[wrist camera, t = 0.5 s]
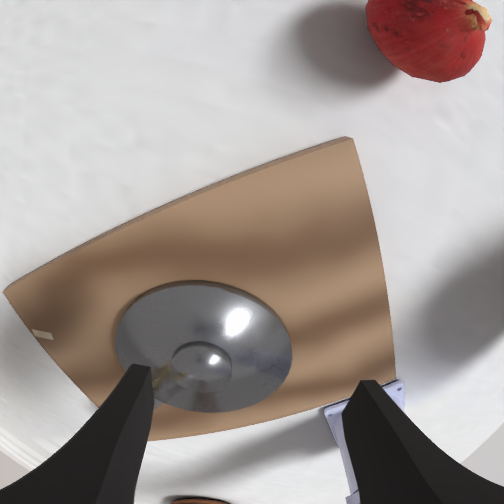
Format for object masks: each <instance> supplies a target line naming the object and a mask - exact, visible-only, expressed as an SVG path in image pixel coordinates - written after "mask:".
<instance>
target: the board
mask: <svg viewBox="0 0 504 504" xmlns="http://www.w3.org/2000/svg"><path fill="white" fill-rule="evenodd" d="M185 280H206V281H213V282H220V283H224V284H228V285H232V286H234V287H237V288H240V289H242V290H245V291H247V292H249V293H251V294H253V295H255V296H256V297H258V298H259V299H261V300H262V301H264V302H265V303H267V304H268V305H269V306H270V307H271V308H272V309H273V310H274V311H275V312H276V313H277V314H278V315H279V317H280V318H281V319H282V321H283V323H284V324H285V326H286V328H287V331H288V333H289V337H290V342H291V347H292V364H291V368H290V371H289V374H288V376H287V377H286V379H285V381H284V382H283V383H282V385H281V386H280V387H279V388H278V389H277V390H276V391H275V392H274V393H273V394H271V395H270V396H269V397H267V398H266V399H264V400H262V401H260V402H259V403H256V404H254V405H252V406H249V407H246V408H243V409H239V410H235V411H229V412H220V413H204V412H195V411H189V410H184V409H180V408H177V407H173V406H171V405H168V404H166V403H163V404H162V405H160V406H159V407H158V408H156V409H155V410H153V416H152V423H151V429H150V433H149V437H148V440H147V441H155V440H165V439H174V438H182V437H189V436H196V435H202V434H208V433H214V432H220V431H225V430H230V429H235V428H240V427H245V426H249V425H254V424H258V423H263V422H267V421H271V420H275V419H279V418H282V417H286V416H290V415H293V414H297V413H300V412H304V411H307V410H311V409H314V408H317V407H320V406H323V405H326V404H330V403H333V402H336V401H338V400H341V399H344V398H347V397H350V396H352V394H353V393H354V391H355V389H356V387H357V385H358V384H359V382H360V380H376V381H377V382H378V384H379V385H381V384H384V383H386V382H388V381H391V380H393V379H396V371H395V357H394V346H393V335H392V326H391V317H390V309H389V302H388V295H387V288H386V281H385V275H384V269H383V263H382V258H381V252H380V247H379V242H378V236H377V232H376V227H375V222H374V217H373V213H372V208H371V204H370V200H369V196H368V192H367V188H366V184H365V180H364V176H363V172H362V168H361V165H360V161H359V157H358V154H357V150H356V147H355V144H354V140H353V138H350V137H346V136H345V137H342V138H339V139H335V140H332V141H329V142H326V143H323V144H320V145H317V146H314V147H311V148H308V149H305V150H302V151H299V152H297V153H294V154H291V155H288V156H285V157H282V158H280V159H277V160H274V161H271V162H269V163H266V164H263V165H261V166H258V167H255V168H253V169H250V170H247V171H245V172H242V173H240V174H237V175H235V176H232V177H230V178H227V179H225V180H222V181H220V182H217V183H215V184H212V185H210V186H207V187H205V188H202V189H200V190H198V191H195V192H193V193H191V194H188V195H186V196H184V197H181V198H179V199H177V200H174V201H172V202H170V203H168V204H165V205H163V206H161V207H159V208H156V209H154V210H152V211H150V212H148V213H145V214H143V215H141V216H139V217H137V218H135V219H133V220H130V221H128V222H126V223H124V224H122V225H120V226H118V227H116V228H114V229H112V230H110V231H108V232H106V233H104V234H102V235H100V236H98V237H96V238H94V239H92V240H90V241H88V242H86V243H84V244H82V245H80V246H78V247H76V248H74V249H72V250H70V251H69V252H67V253H65V254H63V255H61V256H59V257H57V258H55V259H54V260H52V261H50V262H48V263H46V264H45V265H43V266H41V267H39V268H37V269H36V270H34V271H32V272H30V273H29V274H27V275H25V276H23V277H22V278H20V279H18V280H17V281H15V282H13V283H11V284H10V285H9V286H8V287H7V288H6V289H5V290H4V291H3V293H4V295H5V296H6V298H7V299H8V301H9V302H10V304H11V305H12V307H13V308H14V310H15V311H16V313H17V314H18V315H19V317H20V318H21V320H22V321H23V322H24V324H25V325H26V326H27V328H28V329H29V330H30V332H31V333H32V334H33V336H34V337H35V338H36V339H37V341H38V342H39V343H40V344H41V346H42V347H43V348H44V349H45V351H46V352H47V353H48V354H49V355H50V357H51V358H52V359H53V360H54V361H55V362H56V364H57V365H58V366H59V367H60V368H61V369H62V370H63V372H64V373H65V374H66V375H67V376H68V377H69V378H70V379H71V380H72V381H73V382H74V383H75V385H76V386H77V387H78V388H79V389H80V390H81V391H82V392H83V393H84V394H85V395H86V396H87V397H88V398H89V399H90V400H91V401H92V402H93V403H94V404H95V405H96V406H97V407H98V408H99V407H100V406H101V405H102V403H103V402H104V401H105V400H106V398H107V397H108V396H109V395H110V393H111V392H112V391H113V389H114V388H115V387H116V385H117V384H118V383H119V381H120V380H121V378H122V377H123V375H124V374H125V371H124V369H123V368H122V366H121V364H120V362H119V359H118V356H117V353H116V346H115V339H116V332H117V328H118V326H119V324H120V321H121V319H122V317H123V315H124V313H125V311H126V310H127V308H128V307H129V306H130V304H131V303H132V302H133V301H135V300H136V299H137V298H138V297H139V296H141V295H142V294H144V293H145V292H147V291H149V290H151V289H153V288H155V287H158V286H161V285H164V284H167V283H172V282H176V281H185Z"/></svg>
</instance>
